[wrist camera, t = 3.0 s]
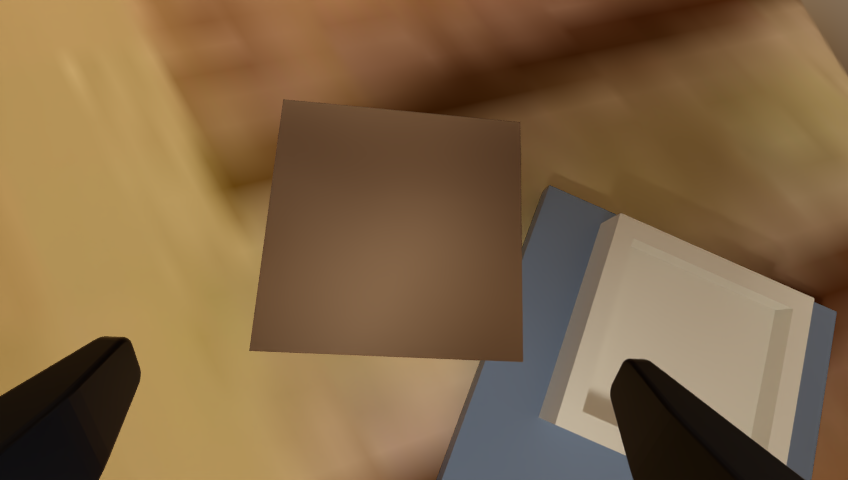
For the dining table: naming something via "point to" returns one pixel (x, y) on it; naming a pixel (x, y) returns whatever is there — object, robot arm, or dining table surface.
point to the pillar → (392, 236)
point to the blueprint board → (637, 350)
